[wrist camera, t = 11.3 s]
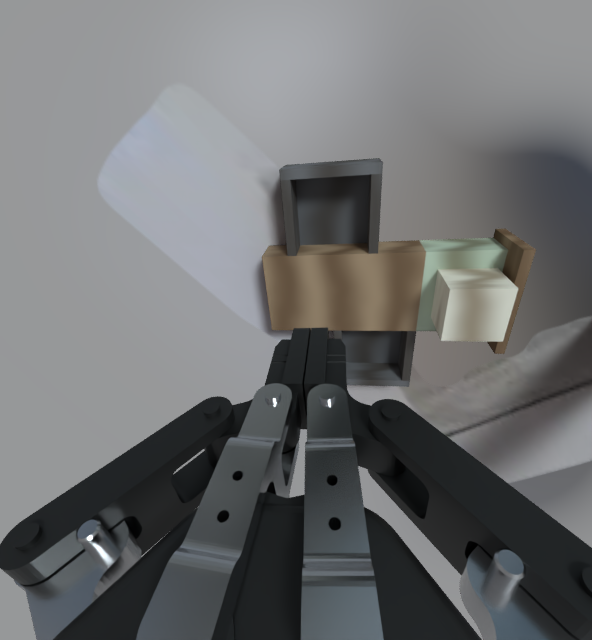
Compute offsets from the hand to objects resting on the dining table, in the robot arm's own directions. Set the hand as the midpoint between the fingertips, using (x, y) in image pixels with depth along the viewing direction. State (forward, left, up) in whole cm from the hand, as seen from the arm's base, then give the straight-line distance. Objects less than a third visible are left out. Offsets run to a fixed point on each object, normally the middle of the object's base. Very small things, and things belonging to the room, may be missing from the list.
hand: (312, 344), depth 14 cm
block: (-14, +9, -23) cm, 29 cm away
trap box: (-5, +9, -27) cm, 29 cm away
